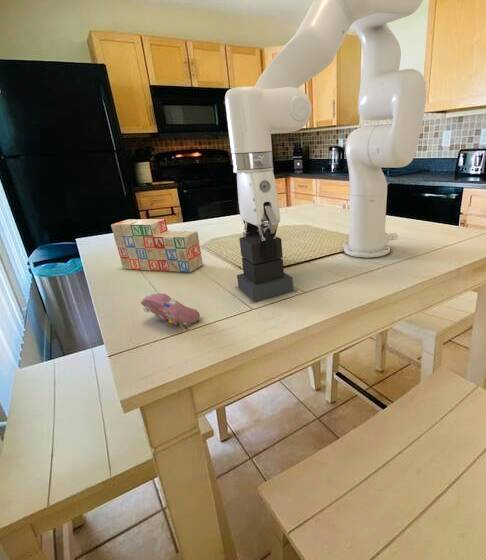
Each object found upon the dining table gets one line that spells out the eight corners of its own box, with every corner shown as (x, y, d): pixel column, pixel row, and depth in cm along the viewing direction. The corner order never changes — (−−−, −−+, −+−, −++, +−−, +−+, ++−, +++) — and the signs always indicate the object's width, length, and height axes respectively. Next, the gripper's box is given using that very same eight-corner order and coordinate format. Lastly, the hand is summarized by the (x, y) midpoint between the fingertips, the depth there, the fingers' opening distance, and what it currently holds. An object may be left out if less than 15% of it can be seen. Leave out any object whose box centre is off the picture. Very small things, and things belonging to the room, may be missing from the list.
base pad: (274, 278, 78) (273, 266, 77) (293, 290, 71) (292, 277, 70) (238, 287, 74) (236, 274, 73) (254, 301, 67) (252, 288, 66)
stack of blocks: (203, 264, 90) (196, 219, 85) (190, 273, 84) (181, 224, 80) (138, 261, 96) (127, 218, 91) (122, 268, 90) (109, 223, 86)
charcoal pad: (270, 268, 75) (269, 251, 74) (284, 277, 70) (282, 259, 68) (243, 275, 72) (241, 257, 71) (255, 284, 67) (253, 266, 66)
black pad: (269, 250, 74) (267, 232, 72) (282, 257, 68) (281, 238, 67) (241, 256, 71) (239, 237, 69) (253, 264, 65) (251, 244, 64)
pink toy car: (154, 323, 64) (130, 300, 59) (170, 305, 66) (148, 281, 61) (188, 337, 59) (165, 312, 54) (204, 316, 61) (183, 291, 56)
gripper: (292, 162, 57) (298, 261, 64) (253, 161, 71) (261, 242, 78) (251, 165, 54) (261, 270, 61) (219, 163, 68) (230, 248, 75)
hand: (261, 253), depth 69 cm, fingers closed on black pad, 6 cm apart
